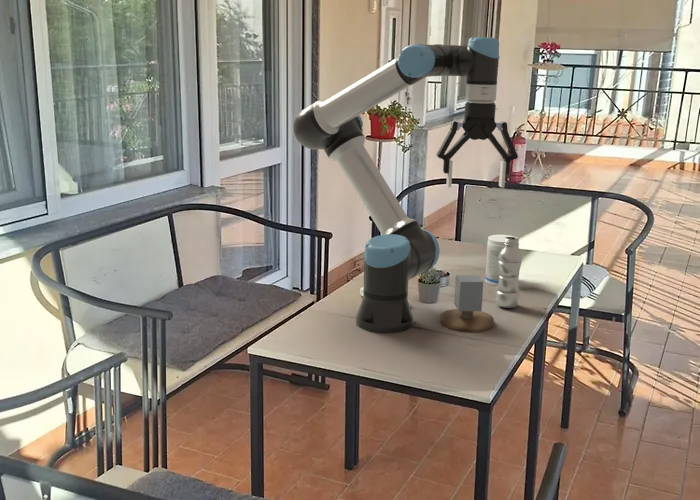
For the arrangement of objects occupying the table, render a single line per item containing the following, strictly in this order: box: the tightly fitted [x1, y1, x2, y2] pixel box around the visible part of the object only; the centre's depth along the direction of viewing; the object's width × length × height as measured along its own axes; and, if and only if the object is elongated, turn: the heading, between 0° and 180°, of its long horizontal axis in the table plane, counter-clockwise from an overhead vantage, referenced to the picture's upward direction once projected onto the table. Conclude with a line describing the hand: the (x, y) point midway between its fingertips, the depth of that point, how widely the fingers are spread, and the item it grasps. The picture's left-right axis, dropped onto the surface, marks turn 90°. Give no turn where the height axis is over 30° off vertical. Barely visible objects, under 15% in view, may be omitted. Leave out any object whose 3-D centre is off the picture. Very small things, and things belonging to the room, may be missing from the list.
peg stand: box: [439, 308, 495, 333], centre depth 209 cm, size 14×14×12 cm
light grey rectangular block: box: [454, 274, 484, 311], centre depth 208 cm, size 6×6×8 cm
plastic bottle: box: [495, 236, 523, 309], centre depth 221 cm, size 6×7×20 cm
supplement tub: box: [484, 234, 520, 288], centre depth 243 cm, size 10×10×15 cm
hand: (475, 186), depth 201 cm, fingers open, 13 cm apart
